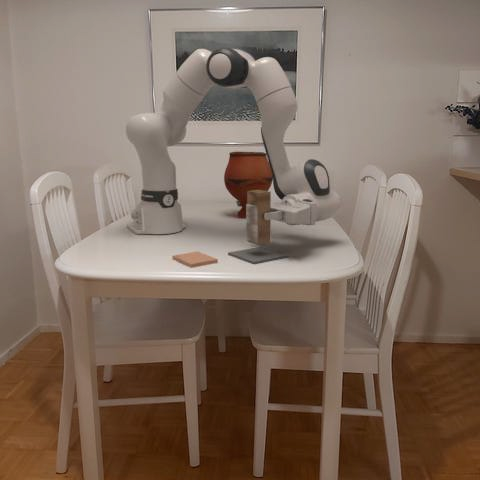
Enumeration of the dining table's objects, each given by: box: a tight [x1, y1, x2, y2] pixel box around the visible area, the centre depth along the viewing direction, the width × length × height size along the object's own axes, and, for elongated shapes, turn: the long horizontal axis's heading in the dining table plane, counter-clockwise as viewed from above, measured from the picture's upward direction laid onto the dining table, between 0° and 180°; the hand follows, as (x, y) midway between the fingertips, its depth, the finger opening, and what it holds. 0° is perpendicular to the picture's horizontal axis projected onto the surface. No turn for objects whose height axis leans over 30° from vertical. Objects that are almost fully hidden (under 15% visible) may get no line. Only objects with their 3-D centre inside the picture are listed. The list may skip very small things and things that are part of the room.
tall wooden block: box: [245, 190, 272, 246], centre depth 133 cm, size 5×5×14 cm
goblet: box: [223, 151, 273, 219], centre depth 192 cm, size 19×19×25 cm
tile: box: [171, 251, 219, 269], centre depth 131 cm, size 10×2×8 cm
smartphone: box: [236, 200, 242, 208], centre depth 226 cm, size 8×1×15 cm
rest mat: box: [227, 245, 290, 265], centre depth 136 cm, size 12×12×1 cm
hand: (256, 214), depth 133 cm, fingers closed on tall wooden block, 5 cm apart
